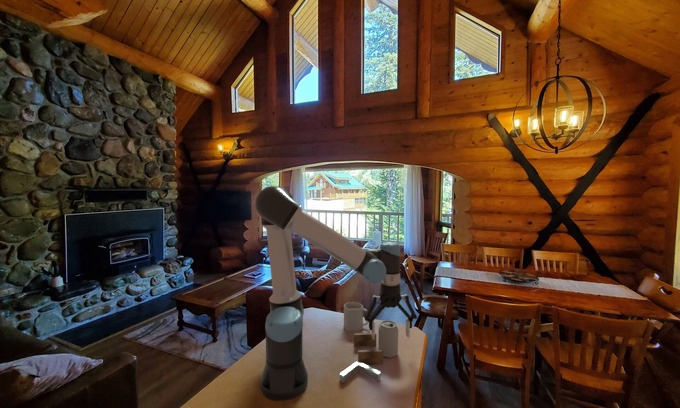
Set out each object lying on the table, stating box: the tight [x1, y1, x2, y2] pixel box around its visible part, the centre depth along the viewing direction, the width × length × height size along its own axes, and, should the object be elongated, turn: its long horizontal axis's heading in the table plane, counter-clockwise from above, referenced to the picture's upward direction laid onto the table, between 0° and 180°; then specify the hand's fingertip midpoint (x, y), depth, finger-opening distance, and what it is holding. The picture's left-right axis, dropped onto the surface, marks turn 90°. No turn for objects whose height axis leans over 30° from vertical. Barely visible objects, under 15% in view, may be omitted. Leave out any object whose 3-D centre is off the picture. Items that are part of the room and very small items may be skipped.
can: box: [377, 319, 399, 359], centre depth 111 cm, size 8×8×12 cm
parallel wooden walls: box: [353, 332, 384, 366], centre depth 110 cm, size 9×13×5 cm
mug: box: [343, 301, 369, 332], centre depth 132 cm, size 11×10×10 cm
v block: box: [339, 361, 382, 384], centre depth 98 cm, size 14×8×2 cm, turn 94°
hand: (390, 336), depth 110 cm, fingers open, 13 cm apart
